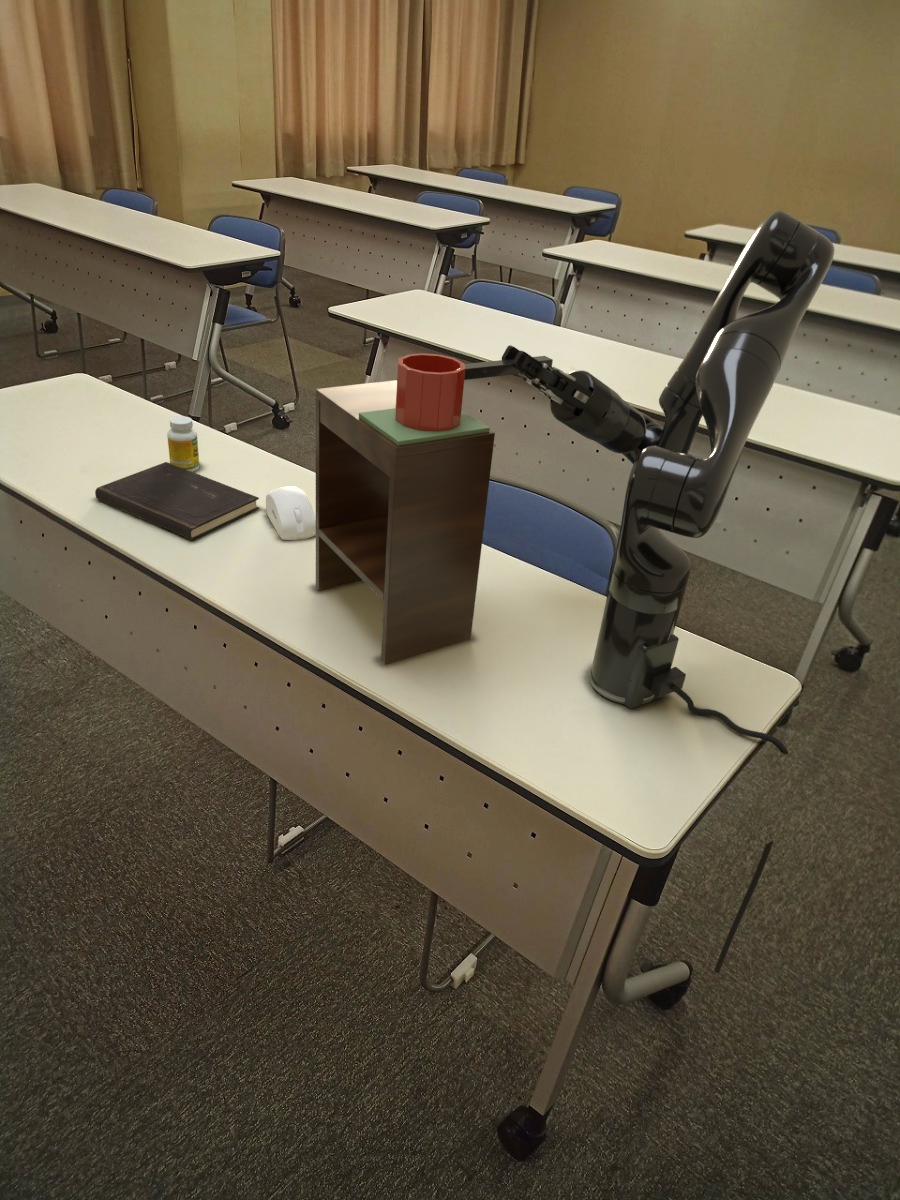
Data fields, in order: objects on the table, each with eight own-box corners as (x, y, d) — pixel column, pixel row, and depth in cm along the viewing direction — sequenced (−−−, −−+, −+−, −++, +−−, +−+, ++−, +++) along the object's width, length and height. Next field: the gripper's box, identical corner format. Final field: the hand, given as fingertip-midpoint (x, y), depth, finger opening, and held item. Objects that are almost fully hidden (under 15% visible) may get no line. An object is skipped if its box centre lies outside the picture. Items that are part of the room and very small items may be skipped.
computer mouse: (281, 543, 140) (280, 508, 137) (262, 509, 150) (261, 476, 146) (319, 538, 142) (319, 504, 139) (298, 505, 152) (298, 473, 149)
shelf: (470, 639, 121) (495, 433, 104) (384, 664, 114) (396, 448, 98) (395, 568, 136) (406, 378, 120) (315, 587, 129) (315, 388, 113)
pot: (560, 413, 111) (569, 360, 107) (416, 434, 100) (419, 376, 96) (524, 394, 116) (531, 343, 113) (383, 412, 106) (386, 356, 102)
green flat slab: (489, 432, 105) (490, 427, 104) (398, 446, 98) (398, 441, 98) (446, 405, 111) (446, 401, 111) (358, 417, 105) (358, 412, 105)
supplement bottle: (171, 462, 163) (166, 414, 158) (200, 462, 165) (196, 414, 159) (169, 473, 159) (164, 425, 154) (199, 473, 160) (195, 425, 155)
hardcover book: (167, 473, 159) (166, 461, 158) (259, 509, 150) (258, 497, 148) (95, 500, 147) (94, 488, 146) (191, 541, 138) (189, 529, 136)
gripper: (573, 369, 123) (495, 314, 111) (638, 399, 113) (561, 343, 101) (546, 415, 124) (467, 366, 112) (608, 449, 115) (529, 399, 103)
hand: (512, 355), depth 107 cm, fingers closed on pot
